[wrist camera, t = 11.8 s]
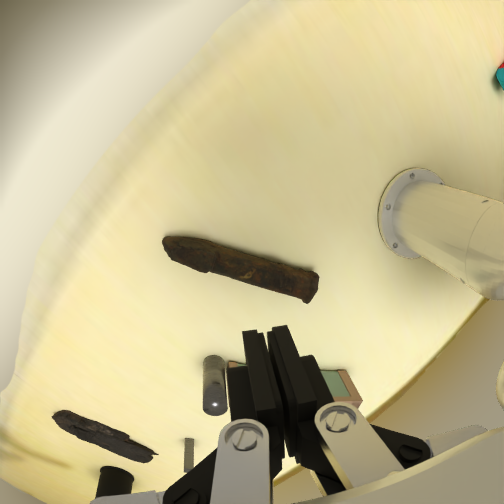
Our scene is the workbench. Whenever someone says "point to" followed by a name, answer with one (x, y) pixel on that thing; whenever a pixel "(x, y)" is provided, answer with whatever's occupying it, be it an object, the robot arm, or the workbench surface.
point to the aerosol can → (114, 482)
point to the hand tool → (242, 267)
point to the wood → (102, 436)
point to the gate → (333, 386)
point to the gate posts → (209, 399)
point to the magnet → (501, 75)
